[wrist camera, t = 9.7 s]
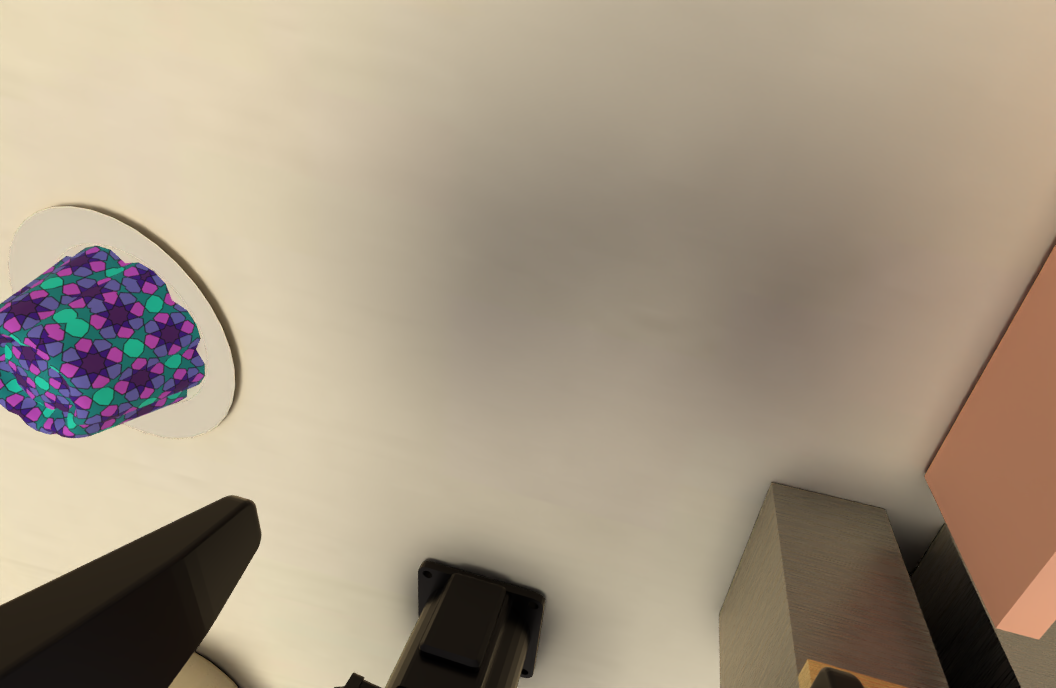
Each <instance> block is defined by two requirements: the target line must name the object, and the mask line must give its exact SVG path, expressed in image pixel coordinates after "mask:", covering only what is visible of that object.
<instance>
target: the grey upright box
mask: <svg viewBox="0 0 1056 688" xmlns="http://www.w3.org/2000/svg"><path fill="white" fill-rule="evenodd" d="M719 647H720V688H810V687H811V685H812V683H813V682H814V680H815V678H816V677H817V675H818V673H819V671H820V670H821V669H822V668H824V667H831V668H834V669H838V670H841V671H844V672H848V673H851V674H853V675H854V676H856V677H857V678H858V679H859V680H860V682H861V683H862V685H863V686H864V688H1056V620H1055V622H1054V623H1053V624H1052V625H1051V626H1050V627H1049V628H1048V630H1047V631H1046V632H1045V633H1044V634H1043V635H1042V637H1041V638H1040V639H1039V640H1038V639H1034V638H1031V637H1027V636H1023V635H1019V634H1015V633H1012V632H1008V631H1004V630H1000V629H997V628H995V626H994V624H993V622H992V620H991V617H990V615H989V613H988V611H987V609H986V607H985V605H984V603H983V600H982V598H981V596H980V594H979V592H978V590H977V588H976V586H975V583H974V581H973V579H972V577H971V575H970V573H969V571H968V569H967V566H966V564H965V562H964V560H963V558H962V556H961V554H960V552H959V549H958V547H957V545H956V543H955V541H954V539H953V537H952V535H951V532H950V530H949V528H948V526H947V524H945V523H944V525H943V527H942V528H941V530H940V531H939V533H938V535H937V536H936V538H935V540H934V541H933V543H932V544H931V546H930V548H929V549H928V551H927V552H926V554H925V556H924V557H923V559H922V560H921V562H920V564H919V565H918V567H917V568H916V570H915V572H914V573H913V575H912V576H911V578H910V577H909V575H908V572H907V569H906V566H905V564H904V561H903V558H902V555H901V552H900V550H899V547H898V544H897V541H896V538H895V536H894V533H893V530H892V527H891V525H890V522H889V519H888V516H887V513H886V511H885V509H882V508H878V507H874V506H870V505H865V504H861V503H857V502H853V501H849V500H844V499H840V498H836V497H832V496H828V495H823V494H819V493H815V492H811V491H807V490H802V489H798V488H794V487H790V486H786V485H781V484H777V483H773V482H772V483H771V485H770V488H769V490H768V493H767V495H766V498H765V500H764V503H763V505H762V508H761V510H760V513H759V515H758V518H757V521H756V523H755V526H754V528H753V531H752V533H751V536H750V538H749V541H748V543H747V546H746V548H745V551H744V553H743V556H742V558H741V561H740V563H739V566H738V568H737V571H736V573H735V576H734V579H733V581H732V584H731V586H730V589H729V591H728V594H727V596H726V599H725V601H724V604H723V606H722V609H721V611H720V614H719Z"/></svg>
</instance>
